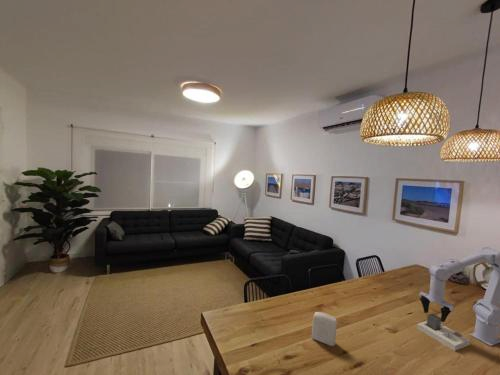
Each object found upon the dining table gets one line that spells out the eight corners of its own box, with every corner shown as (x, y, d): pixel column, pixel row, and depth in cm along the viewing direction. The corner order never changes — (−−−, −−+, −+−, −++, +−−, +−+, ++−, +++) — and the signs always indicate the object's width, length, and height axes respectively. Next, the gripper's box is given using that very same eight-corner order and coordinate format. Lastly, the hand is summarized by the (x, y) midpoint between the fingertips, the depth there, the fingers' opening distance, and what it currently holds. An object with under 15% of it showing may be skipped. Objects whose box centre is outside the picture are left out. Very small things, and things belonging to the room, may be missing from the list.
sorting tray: (431, 323, 124) (432, 318, 123) (469, 344, 109) (470, 338, 109) (417, 328, 119) (417, 322, 119) (454, 351, 104) (455, 344, 104)
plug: (431, 326, 120) (432, 313, 120) (440, 331, 116) (441, 318, 116) (426, 328, 119) (427, 315, 118) (435, 333, 115) (436, 319, 114)
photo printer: (335, 342, 105) (338, 315, 104) (334, 348, 101) (336, 320, 101) (312, 333, 110) (314, 308, 109) (310, 338, 106) (312, 312, 106)
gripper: (416, 284, 121) (414, 310, 122) (449, 299, 108) (446, 327, 109) (425, 283, 124) (422, 307, 125) (458, 296, 111) (455, 324, 111)
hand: (434, 316), depth 117 cm, fingers open, 7 cm apart
